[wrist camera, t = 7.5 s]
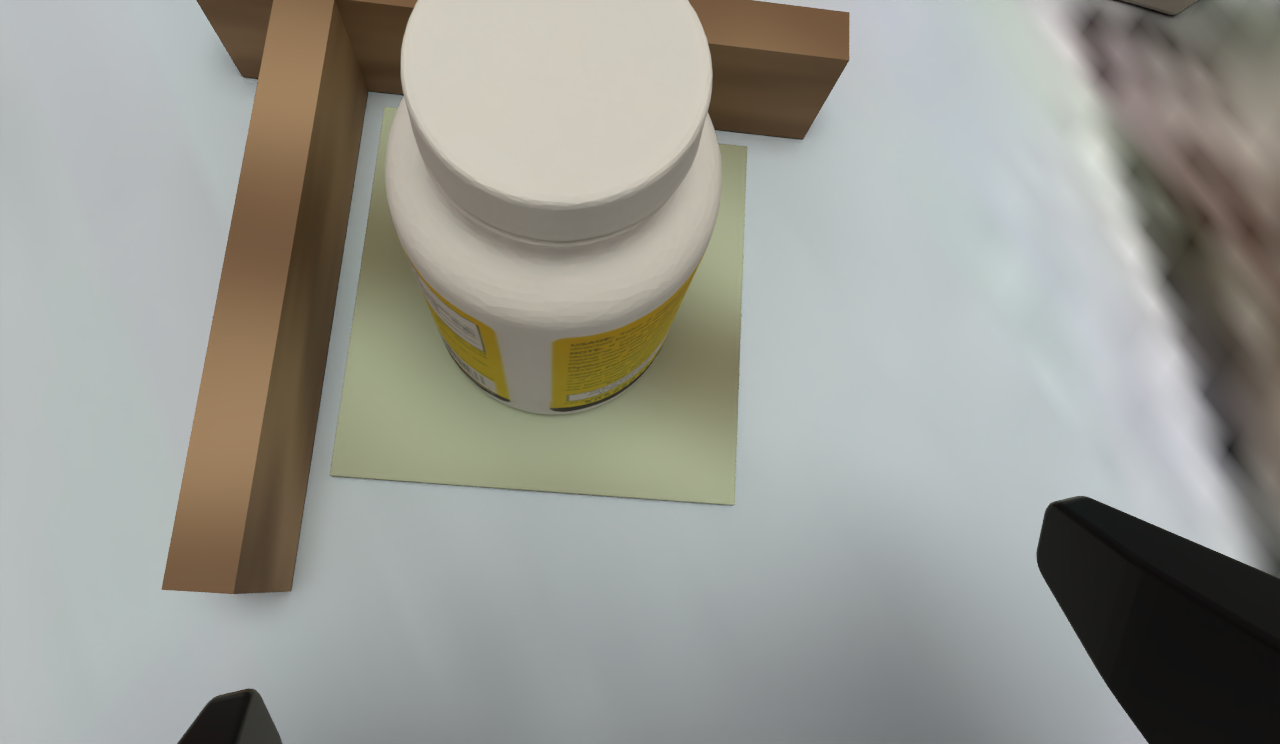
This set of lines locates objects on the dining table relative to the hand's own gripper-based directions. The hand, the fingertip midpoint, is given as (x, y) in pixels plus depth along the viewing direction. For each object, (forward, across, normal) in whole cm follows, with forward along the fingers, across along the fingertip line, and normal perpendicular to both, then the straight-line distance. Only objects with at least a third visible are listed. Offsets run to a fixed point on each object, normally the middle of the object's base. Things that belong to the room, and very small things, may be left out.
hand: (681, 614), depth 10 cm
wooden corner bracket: (+12, +1, +2) cm, 12 cm away
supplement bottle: (+12, 0, +2) cm, 12 cm away
